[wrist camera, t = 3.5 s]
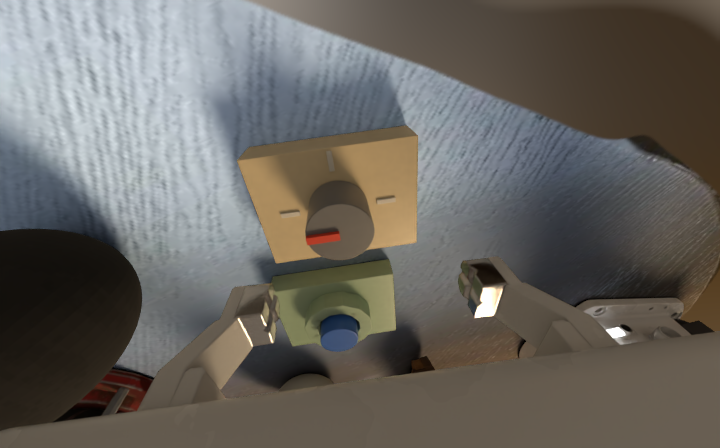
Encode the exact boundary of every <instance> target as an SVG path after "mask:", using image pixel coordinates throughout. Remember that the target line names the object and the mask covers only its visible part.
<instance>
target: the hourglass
mask: <svg viewBox="0 0 720 448" xmlns="http://www.w3.org/2000/svg"><path fill="white" fill-rule="evenodd" d="M152 382H153V379H150V378H147V377H144V376H142V375H139V374H136V373H132V372H126V371H121V370H116V369H111V370H110V371H109V372H108V373H107V375H106V376H105V377H104V378H103V379H102V380H101V381H100V382H99V383H98V384H97V385H96V386H95V387H94V388H93V389H92V390H91V391H90V392H89V393H88V394H87V395H86V396H85V397H84V398H83V399H82V400H80V401H79V402H78V403H77V404H76V405H74V406H73V407H72V408H71V409H69V410H68V411H67V412H66V413H64V414H63V415H62V416H60V417H59V418H58V419H56V420H55V421H53V422H60V421H67V420H74V419H82V418H89V417H96V416H104V415H111V414H118V413H126V412H133V411H137V410H138V408H139V406H140V404H141V402H142V400H143V398H144V397H145V395H146V393H147V391H148V389H149V387H150V386H151V384H152Z"/></svg>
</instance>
